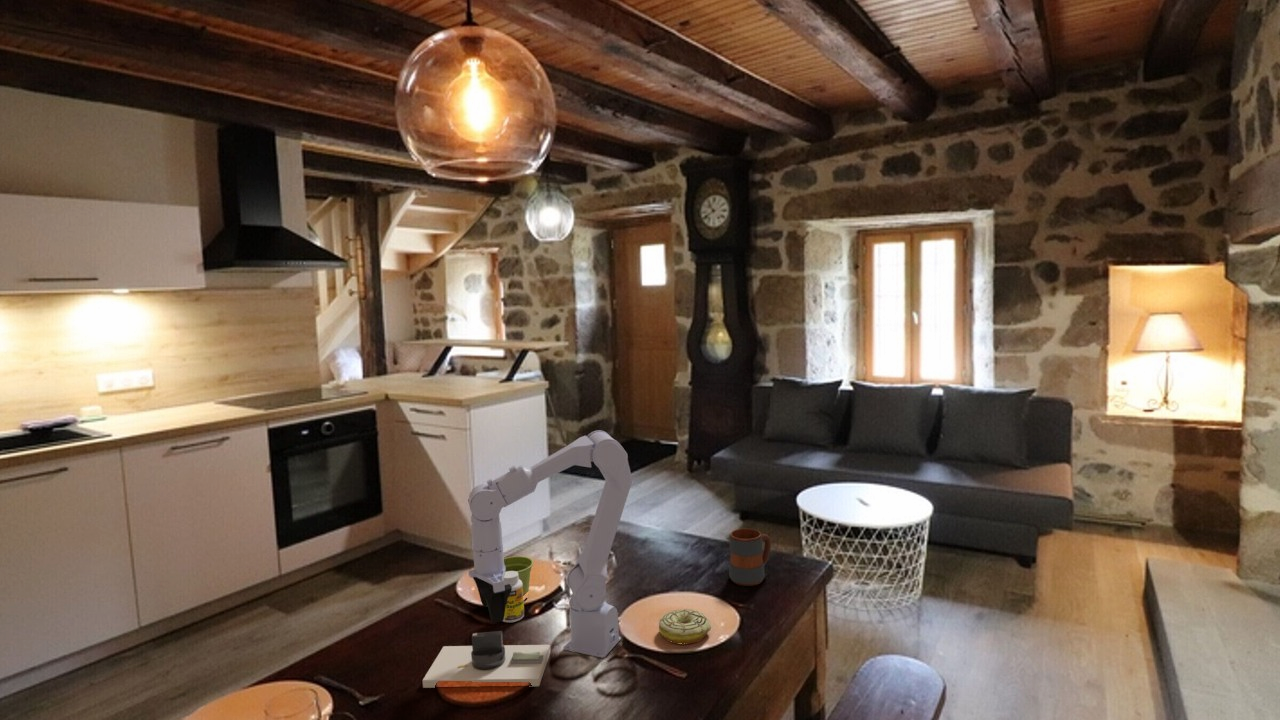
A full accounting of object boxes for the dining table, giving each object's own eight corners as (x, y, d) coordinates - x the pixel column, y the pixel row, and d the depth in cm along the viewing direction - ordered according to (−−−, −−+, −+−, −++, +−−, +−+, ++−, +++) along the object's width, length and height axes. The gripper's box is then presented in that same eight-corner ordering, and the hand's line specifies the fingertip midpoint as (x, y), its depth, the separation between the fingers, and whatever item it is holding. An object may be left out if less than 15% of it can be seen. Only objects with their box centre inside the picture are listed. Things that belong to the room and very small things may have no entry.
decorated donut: (720, 633, 144) (720, 616, 144) (685, 653, 137) (684, 635, 137) (685, 616, 152) (684, 600, 152) (649, 634, 145) (649, 617, 145)
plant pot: (527, 608, 159) (525, 572, 158) (489, 607, 160) (486, 571, 159) (540, 590, 168) (538, 556, 167) (503, 589, 169) (501, 555, 168)
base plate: (550, 651, 140) (549, 635, 139) (539, 686, 128) (538, 668, 127) (444, 653, 141) (442, 637, 140) (423, 687, 129) (421, 670, 128)
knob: (506, 650, 137) (505, 623, 137) (503, 668, 131) (501, 640, 130) (474, 653, 137) (472, 626, 136) (469, 671, 130) (467, 643, 130)
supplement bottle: (505, 626, 151) (502, 581, 150) (495, 616, 155) (492, 573, 154) (528, 618, 154) (525, 575, 153) (518, 609, 158) (515, 566, 157)
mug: (782, 577, 169) (781, 531, 168) (744, 590, 163) (743, 543, 162) (759, 565, 177) (758, 522, 175) (722, 577, 171) (720, 532, 169)
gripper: (459, 539, 139) (464, 603, 140) (475, 564, 126) (481, 634, 127) (494, 532, 142) (498, 594, 143) (513, 555, 129) (518, 624, 130)
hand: (492, 612), depth 135 cm, fingers open, 7 cm apart
